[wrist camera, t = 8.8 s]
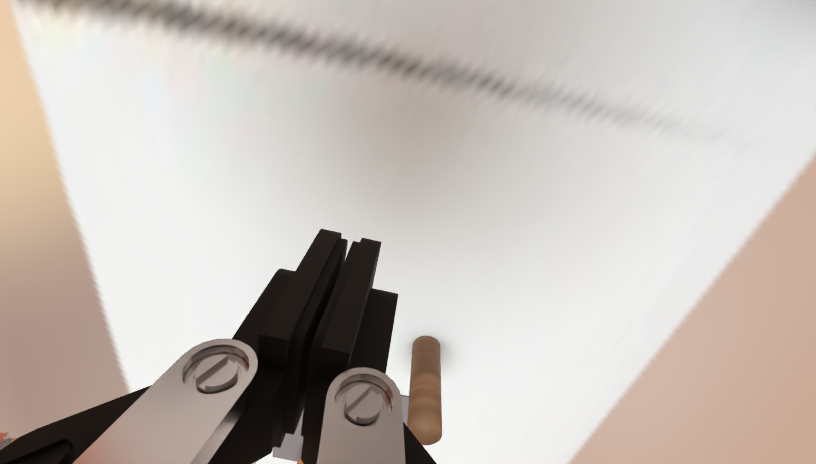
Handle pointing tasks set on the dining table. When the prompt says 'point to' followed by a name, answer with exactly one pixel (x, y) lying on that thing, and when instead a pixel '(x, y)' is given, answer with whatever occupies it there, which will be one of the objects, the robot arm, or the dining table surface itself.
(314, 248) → the robot arm
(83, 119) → the dining table surface
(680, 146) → the dining table surface
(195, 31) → the dining table surface
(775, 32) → the dining table surface
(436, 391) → the post
